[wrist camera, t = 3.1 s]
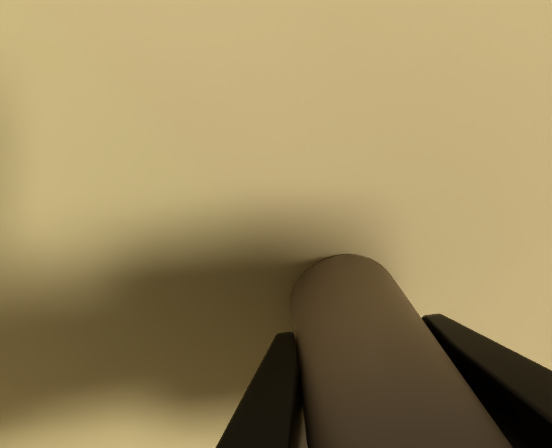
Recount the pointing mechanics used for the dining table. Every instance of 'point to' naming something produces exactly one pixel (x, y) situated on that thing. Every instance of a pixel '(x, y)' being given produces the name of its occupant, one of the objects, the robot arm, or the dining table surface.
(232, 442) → the robot arm
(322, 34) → the dining table surface
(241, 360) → the dining table surface
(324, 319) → the tethered block
